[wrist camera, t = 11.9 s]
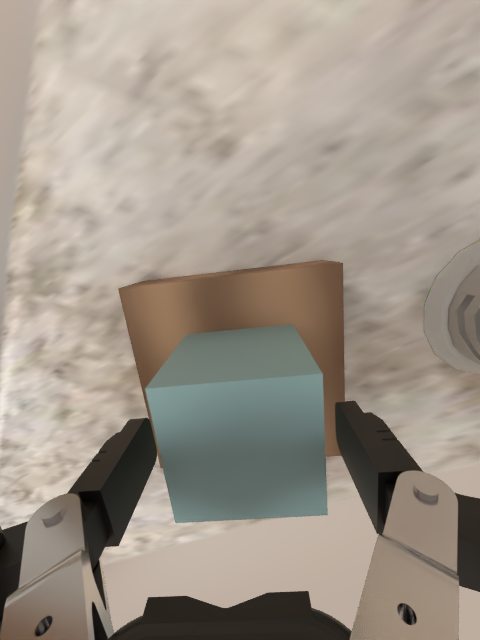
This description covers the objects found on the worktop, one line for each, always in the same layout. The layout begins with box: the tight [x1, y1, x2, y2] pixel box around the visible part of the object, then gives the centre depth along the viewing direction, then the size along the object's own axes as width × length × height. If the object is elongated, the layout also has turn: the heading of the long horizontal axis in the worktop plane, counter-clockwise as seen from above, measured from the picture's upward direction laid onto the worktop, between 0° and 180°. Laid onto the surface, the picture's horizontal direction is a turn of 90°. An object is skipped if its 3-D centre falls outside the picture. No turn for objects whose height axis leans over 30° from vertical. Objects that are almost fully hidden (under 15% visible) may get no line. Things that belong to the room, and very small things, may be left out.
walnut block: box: [118, 260, 345, 468], centre depth 17 cm, size 12×12×4 cm
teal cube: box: [145, 324, 327, 523], centre depth 12 cm, size 6×6×6 cm
